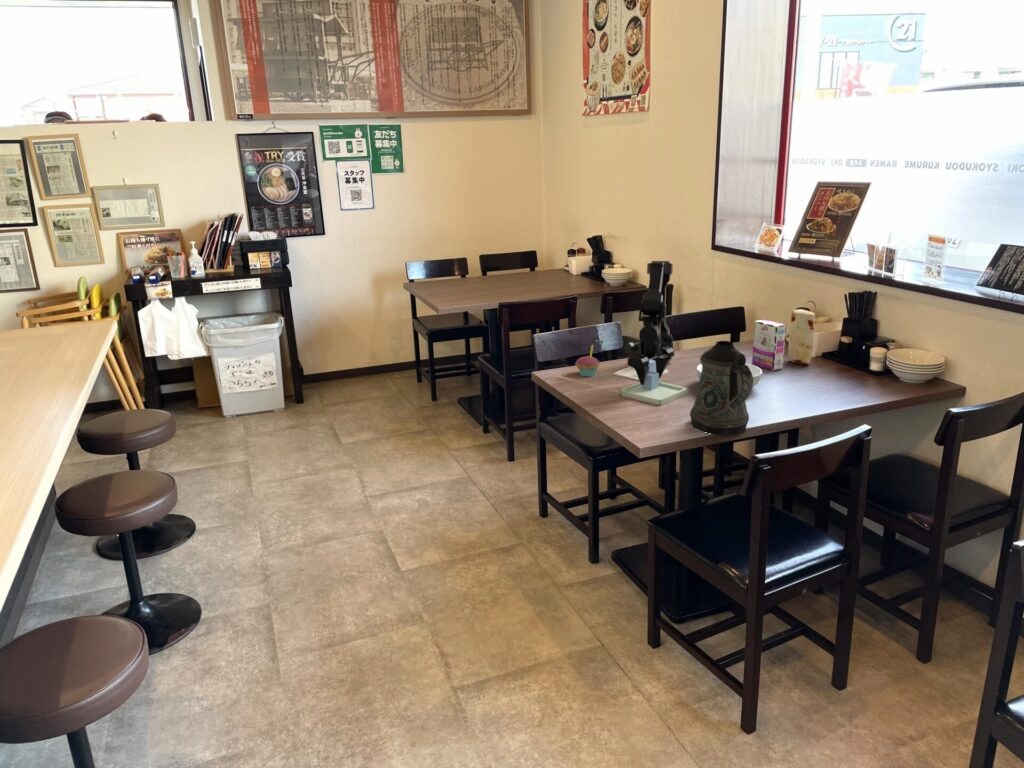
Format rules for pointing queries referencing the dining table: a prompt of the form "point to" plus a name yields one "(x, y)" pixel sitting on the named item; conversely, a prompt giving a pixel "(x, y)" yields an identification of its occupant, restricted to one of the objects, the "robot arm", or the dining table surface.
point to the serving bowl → (754, 369)
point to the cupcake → (587, 364)
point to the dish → (631, 373)
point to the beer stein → (722, 391)
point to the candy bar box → (769, 344)
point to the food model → (801, 336)
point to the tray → (654, 393)
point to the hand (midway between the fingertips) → (650, 381)
